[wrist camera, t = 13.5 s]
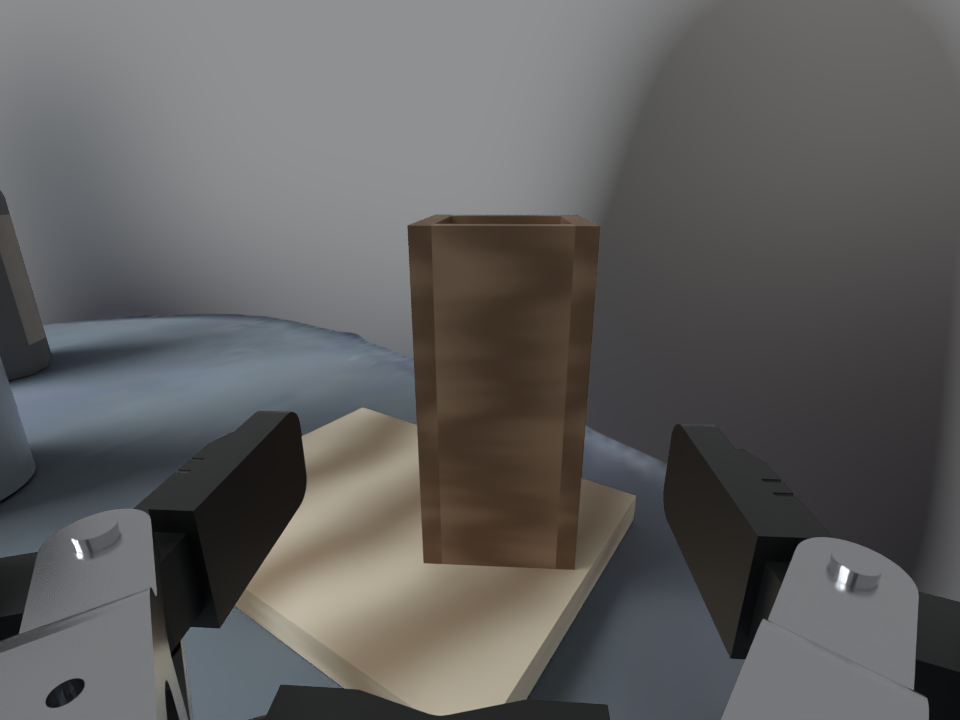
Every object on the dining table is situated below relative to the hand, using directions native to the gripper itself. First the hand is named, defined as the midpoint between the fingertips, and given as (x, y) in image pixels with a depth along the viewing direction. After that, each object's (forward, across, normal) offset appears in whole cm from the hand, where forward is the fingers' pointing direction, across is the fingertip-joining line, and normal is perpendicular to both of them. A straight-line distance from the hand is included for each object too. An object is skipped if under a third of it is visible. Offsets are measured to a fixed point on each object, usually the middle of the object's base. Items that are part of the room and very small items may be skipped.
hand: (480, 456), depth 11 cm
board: (+12, +5, +11) cm, 17 cm away
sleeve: (+11, 0, +10) cm, 15 cm away
